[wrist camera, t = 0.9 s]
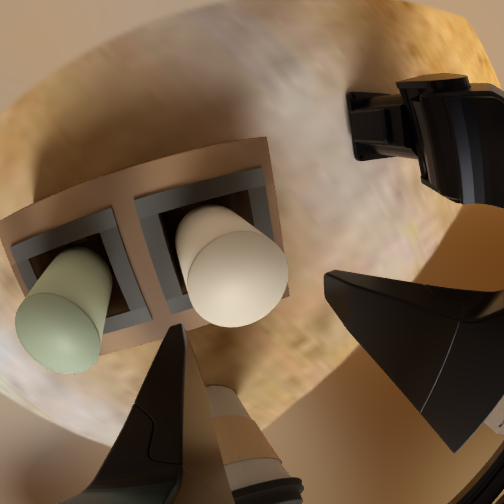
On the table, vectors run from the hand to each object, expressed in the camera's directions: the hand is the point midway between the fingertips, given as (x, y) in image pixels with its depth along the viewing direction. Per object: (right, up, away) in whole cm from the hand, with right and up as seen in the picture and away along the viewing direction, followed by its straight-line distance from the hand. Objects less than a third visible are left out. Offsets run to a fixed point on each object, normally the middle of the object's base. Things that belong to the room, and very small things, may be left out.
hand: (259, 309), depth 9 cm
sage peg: (-10, 0, +5) cm, 11 cm away
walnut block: (-8, +3, +10) cm, 14 cm away
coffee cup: (-5, -15, +19) cm, 24 cm away
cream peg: (-3, +3, +7) cm, 8 cm away
